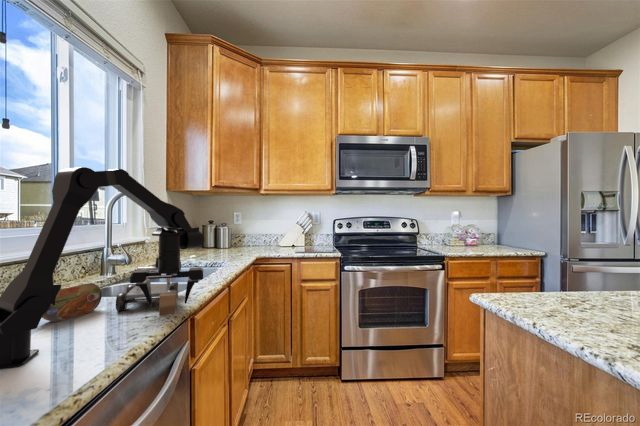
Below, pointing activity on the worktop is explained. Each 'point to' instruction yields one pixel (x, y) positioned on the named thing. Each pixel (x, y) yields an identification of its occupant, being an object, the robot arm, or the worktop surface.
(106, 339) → the worktop surface
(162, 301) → the block
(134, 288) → the trolley
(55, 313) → the tin
